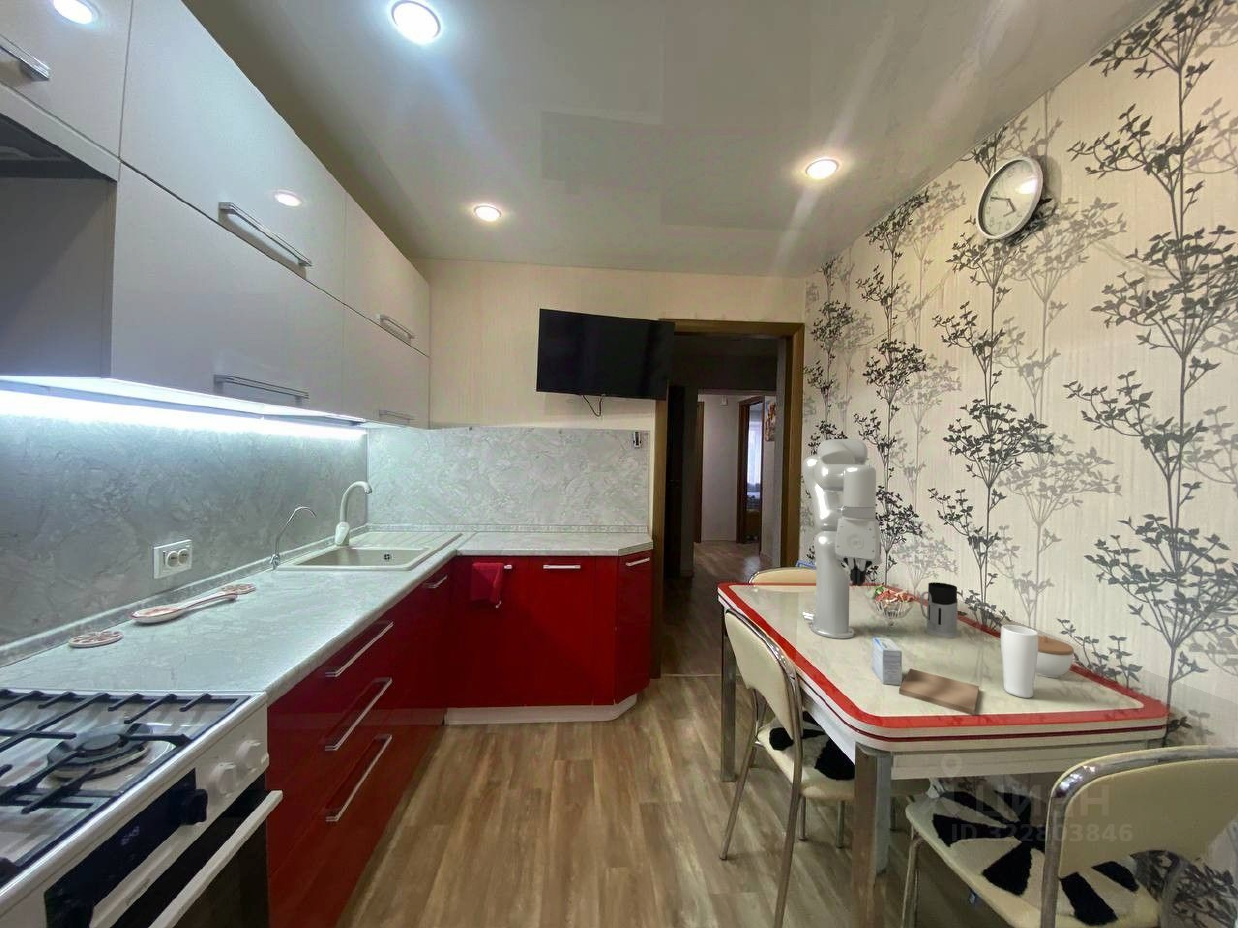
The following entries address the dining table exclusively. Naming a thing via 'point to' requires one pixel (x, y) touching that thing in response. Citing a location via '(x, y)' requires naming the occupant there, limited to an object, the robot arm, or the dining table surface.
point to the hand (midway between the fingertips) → (857, 584)
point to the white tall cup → (1019, 659)
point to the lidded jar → (1053, 657)
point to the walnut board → (940, 691)
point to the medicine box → (887, 661)
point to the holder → (941, 610)
